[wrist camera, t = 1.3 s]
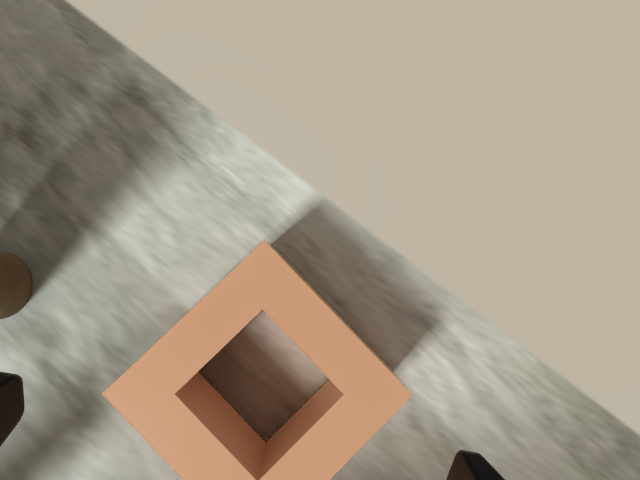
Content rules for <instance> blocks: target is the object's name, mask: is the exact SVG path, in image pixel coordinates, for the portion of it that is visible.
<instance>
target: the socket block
mask: <svg viewBox="0 0 640 480" xmlns="http://www.w3.org/2000/svg"><path fill="white" fill-rule="evenodd" d="M261 310H263V311H264V312H265V313H266V314H267V315H268V316H269V317H270V318H271V319H272V320H273V321H274V322H275V323H276V324H277V325H278V326H279V327H280V328H281V329H282V330H283V331H284V333H285V334H286V335H287V336H288V337H289V338H290V339H291V340H292V341H293V342H294V343H295V344H296V345H297V346H298V347H299V348H300V349H301V350H302V351H303V352H304V353H305V354H306V356H307V357H308V358H309V359H310V360H311V361H312V362H313V363H314V364H315V365H316V366H317V367H318V368H319V369H320V370H321V371H322V372H323V373H324V374H325V375H326V376H327V377H328V379H329V380H328V381H327V382H326V383H325V384H324V385H323V386H322V387H321V388H320V389H319V390H318V391H317V392H316V393H315V394H314V395H313V396H312V397H311V398H310V399H309V400H308V401H307V402H306V403H305V404H304V405H303V406H302V407H301V408H300V409H299V410H298V411H297V412H296V413H295V414H294V415H293V416H292V417H291V418H290V419H289V420H288V421H287V422H286V423H285V424H284V425H283V426H282V427H281V428H280V429H279V430H278V431H277V432H276V433H275V434H274V435H273V436H272V437H271V438H270V439H269V440H268V441H267V442H265V441H264V440H263V439H262V438H261V437H260V436H259V435H258V434H257V433H256V432H255V431H254V430H253V429H252V428H251V427H250V425H249V424H248V423H247V422H246V421H245V420H244V419H243V418H242V417H241V416H240V415H239V414H238V413H237V412H236V411H235V410H234V409H233V408H232V407H231V406H230V404H229V403H228V402H227V401H226V400H225V399H224V398H223V397H222V396H221V395H220V394H219V393H218V392H217V391H216V390H215V389H214V388H213V387H212V386H211V384H210V383H209V382H208V381H207V380H206V379H205V378H204V377H203V376H202V375H201V374H200V373H199V372H198V371H199V370H200V369H201V368H202V367H203V366H204V365H205V364H206V363H207V362H208V361H209V360H210V359H212V358H213V357H214V356H215V355H216V354H217V353H218V352H219V351H220V350H221V349H222V348H223V347H224V346H225V345H226V344H227V343H228V342H229V341H230V340H231V339H232V338H233V337H234V336H235V335H236V334H237V333H239V332H240V331H241V330H242V329H243V328H244V327H245V326H246V325H247V324H248V323H249V322H250V321H251V320H252V319H253V318H254V317H255V316H256V315H257V314H258V313H259V312H260V311H261ZM102 395H103V396H104V397H105V398H106V399H107V400H108V401H109V402H110V403H111V404H112V405H113V406H114V407H115V408H116V409H117V410H118V411H119V413H120V414H121V415H122V416H123V417H124V418H125V419H126V420H127V421H128V422H129V423H130V424H131V425H132V426H133V427H134V428H135V429H136V430H137V432H138V433H139V434H140V435H141V436H142V437H143V438H144V439H145V440H146V441H147V442H148V443H149V444H150V445H151V446H152V447H153V448H154V449H155V451H156V452H157V453H158V454H159V455H160V456H161V457H162V458H163V459H164V460H165V461H166V462H167V463H168V464H169V465H170V466H171V467H172V468H173V470H174V471H175V472H176V473H177V474H178V475H179V476H180V477H181V478H182V479H183V480H330V479H331V478H332V477H333V476H334V475H335V474H336V473H337V472H338V471H339V470H340V469H341V468H342V467H343V466H344V465H345V464H346V463H347V462H348V461H349V459H350V458H351V457H352V456H353V455H354V454H355V453H356V452H357V451H358V450H359V449H360V448H361V447H362V446H363V445H364V444H365V443H366V442H367V441H368V440H369V439H370V438H371V437H372V436H373V435H374V434H375V433H376V432H377V431H378V430H379V429H380V428H381V427H382V425H383V424H384V423H385V422H386V421H387V420H388V419H389V418H390V417H391V416H392V415H393V414H394V413H395V412H396V411H397V410H398V409H399V408H400V407H401V406H402V405H403V404H404V403H405V402H406V401H407V400H408V399H409V398H410V397H411V396H412V394H411V392H410V391H409V390H408V389H407V388H406V386H405V385H404V384H403V383H402V382H401V380H400V379H399V378H398V377H397V375H396V374H395V373H394V372H393V371H392V370H391V369H390V368H389V367H388V366H387V365H386V363H385V362H384V361H383V360H382V359H381V358H380V357H379V356H378V355H377V354H376V353H375V352H374V351H373V350H372V349H371V348H370V347H369V346H368V345H367V344H366V343H365V342H364V341H363V340H362V338H361V337H360V336H359V335H358V334H357V333H356V332H355V331H354V330H353V329H352V328H351V327H350V326H349V325H348V324H347V323H346V322H345V321H344V320H343V319H342V318H341V317H340V316H339V315H338V313H337V312H336V311H335V310H334V309H333V308H332V307H331V306H330V305H329V304H328V303H327V302H326V301H325V300H324V299H323V298H322V297H321V296H320V295H319V294H318V293H317V292H316V291H315V290H314V288H313V287H312V286H311V285H310V284H309V283H308V282H307V281H306V280H305V279H304V278H303V277H302V276H301V275H300V274H299V273H298V272H297V271H296V270H295V269H294V268H293V267H292V266H291V264H290V263H289V262H288V261H287V260H286V259H285V258H284V257H283V256H282V255H281V254H280V253H279V252H278V251H277V250H276V249H275V248H274V247H273V246H272V245H271V244H270V243H268V242H266V241H263V242H262V243H261V244H260V245H259V246H258V247H257V248H256V249H255V250H254V251H253V252H252V253H250V254H249V255H248V256H247V257H246V258H245V259H244V260H243V261H242V262H241V263H240V264H239V265H238V266H237V267H236V268H235V269H234V270H233V271H231V272H230V273H229V274H228V275H227V276H226V277H225V278H224V279H223V280H222V281H221V282H220V283H219V284H218V285H217V286H216V287H215V288H213V289H212V290H211V291H210V292H209V293H208V294H207V295H206V296H205V297H204V298H203V299H202V300H201V301H200V302H199V303H198V304H197V305H195V306H194V307H193V308H192V309H191V310H190V311H189V312H188V313H187V314H186V315H185V316H184V317H183V318H182V319H181V320H180V321H179V322H178V323H176V324H175V325H174V326H173V327H172V328H171V329H170V330H169V331H168V332H167V333H166V334H165V335H164V336H163V337H162V338H161V339H160V340H158V341H157V342H156V343H155V344H154V345H153V346H152V347H151V348H150V349H149V350H148V351H147V352H146V353H145V354H144V355H143V356H142V357H141V358H139V359H138V360H137V361H136V362H135V363H134V364H133V365H132V366H131V367H130V368H129V369H128V370H127V371H126V372H125V373H124V374H123V375H121V376H120V377H119V378H118V379H117V380H116V381H115V382H114V383H113V384H112V385H111V386H110V387H109V388H108V389H107V390H106V391H105V392H103V393H102Z"/></svg>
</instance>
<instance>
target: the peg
mask: <svg viewBox="0 0 640 480" xmlns="http://www.w3.org/2000/svg"><path fill="white" fill-rule="evenodd" d="M31 291H32V277H31V274H30V271H29V269H28V267H27V266H26V265H25V263H24V262H23V261H22V260H21V259H19V258H18V257H16V256H14V255H12V254H9V253H3V252H0V319H3V318H7V317H10V316H12V315H14V314H15V313H17V312H18V311H19V310H21V309H22V308H23V307H24V305H25V304H26V303H27V301H28V299H29V297H30V295H31Z"/></svg>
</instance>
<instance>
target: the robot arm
mask: <svg viewBox="0 0 640 480" xmlns="http://www.w3.org/2000/svg"><path fill="white" fill-rule="evenodd" d="M23 412H24V393H23V381H22V378H21V377H20V376H19V375H16V374H10V373H5V372H0V446H1V445H2V444H3V442H4V441H5V440H6V438H7V437H8V436H9V434H10V433H11V432H12V430H13V429H14V427H15V426H16V425H17V423H18V422H19V421H20V419H21V417H22V415H23ZM447 480H505V479H504V478H503V477H502V476H501V475H500V474H499V473H498V472H497V471H496V470H495V469H494V468H493V467H492V466H491V465H490V464H489V463H488V462H487V461H486V460H485V458H484V457H483V456H481V455H480V454H479V453H476V452H471V451H465V450H460V451H458V452H457V454H456V456H455V458H454V461H453V463H452V466H451V469H450V471H449V474H448V476H447Z"/></svg>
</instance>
